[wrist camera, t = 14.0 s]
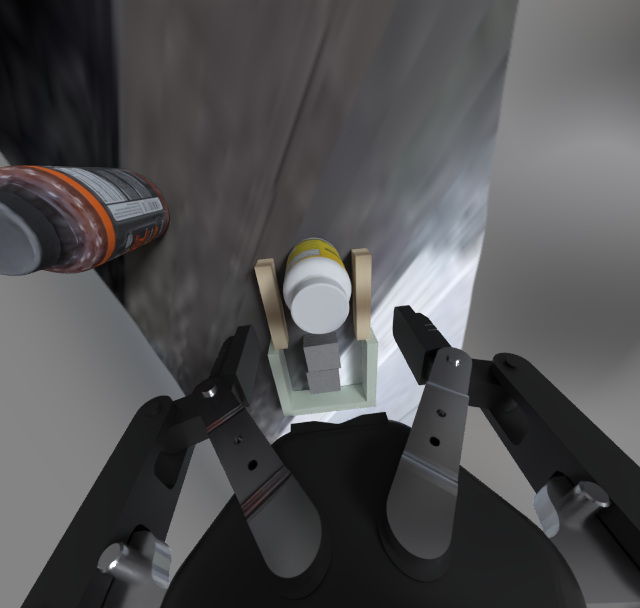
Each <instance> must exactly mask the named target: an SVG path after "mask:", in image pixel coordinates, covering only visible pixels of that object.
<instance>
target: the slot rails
mask: <svg viewBox="0 0 640 608" xmlns="http://www.w3.org/2000/svg"><path fill="white" fill-rule="evenodd" d="M351 255H352V291H353V328H354V332H355V335H356V339H357V340H366V339H370V313H371V254H370V252H369V251H368V250H367V249H366V248H362V249H353V250H351ZM254 268H255V272H256V276H257V280H258V284H259V288H260V292H261V296H262V300H263V304H264V308H265V313H266V317H267V321H268V325H269V329H270V333H271V337H272V341H273V345H274V349H275V350H278V349H286V348H288V340H289V335H288V330H287V325H286V320H285V315H284V310H283V305H282V300H281V295H280V290H279V285H278V280H277V275H276V270H275V265H274V260H273V258H271V259H262V260H258V262H257V264H256V266H255V267H254Z"/></svg>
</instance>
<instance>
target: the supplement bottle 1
mask: <svg viewBox="0 0 640 608" xmlns="http://www.w3.org/2000/svg"><path fill="white" fill-rule="evenodd" d="M168 223H169V211H168V207H167V204H166V202H165V199H164V198H163V196H162V194H161V193H160V191H159V190H158V189H157V188H156V187H155V186H154V185H153V184H152V183H151V182H150V181H149V180H147V179H146V178H145V177H143V176H141V175H140V174H137V173H135V172H133V171H130V170H126V169H118V168H98V167H60V166H7V167H1V168H0V274H2V275H8V276H9V275H10V276H20V275H26V274H30V273H33V272H36V271H39V270H46V271H50V272H56V273H79V272H84V271H87V270H90V269H92V268H95V267H97V266H99V265H102V264H104V263H106V262H109V261H110V260H112V259H115V258H117V257H119V256H121V255H123V254H126V253H128V252H130V251H132V250H134V249H137V248H139V247H141V246H143V245H146V244H147V243H150V242H152V241H154V240H156V239H157V238H158V237H160V236H161V235H162V234H163V233H164V232H165V230H166V228H167V226H168Z"/></svg>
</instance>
